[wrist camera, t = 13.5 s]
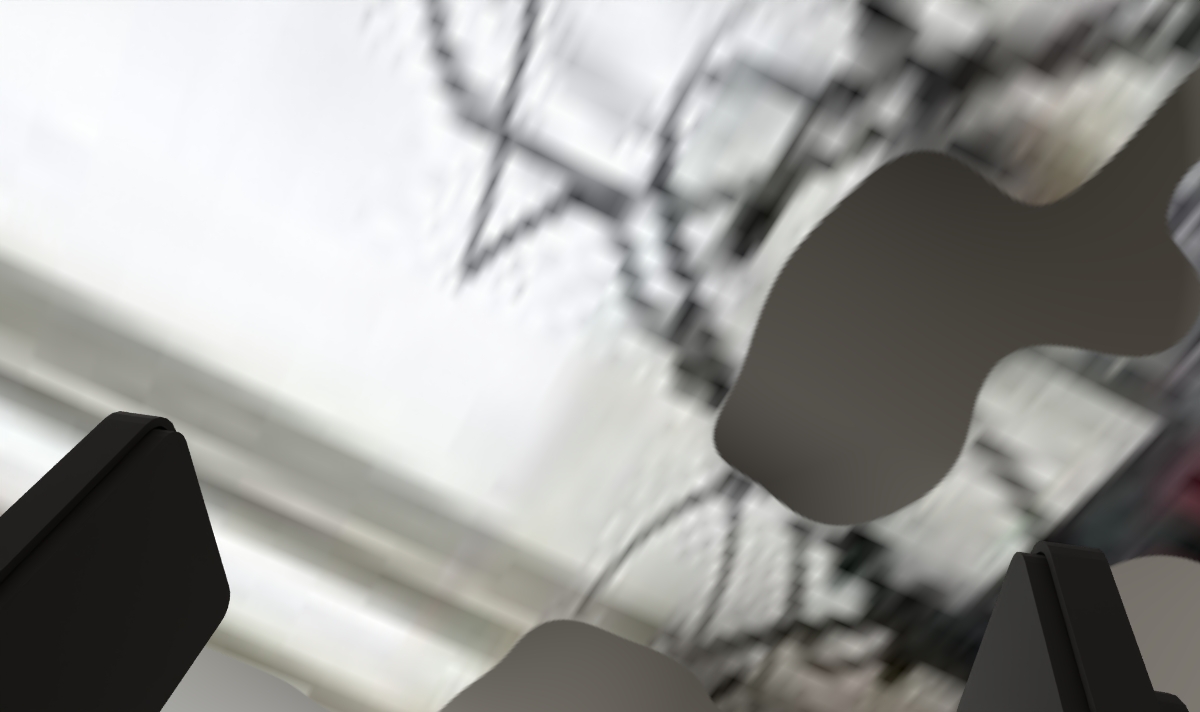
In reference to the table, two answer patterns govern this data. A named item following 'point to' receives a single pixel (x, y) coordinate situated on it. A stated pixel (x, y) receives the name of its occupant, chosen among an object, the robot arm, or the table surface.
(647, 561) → the table surface
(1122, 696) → the robot arm
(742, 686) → the table surface
